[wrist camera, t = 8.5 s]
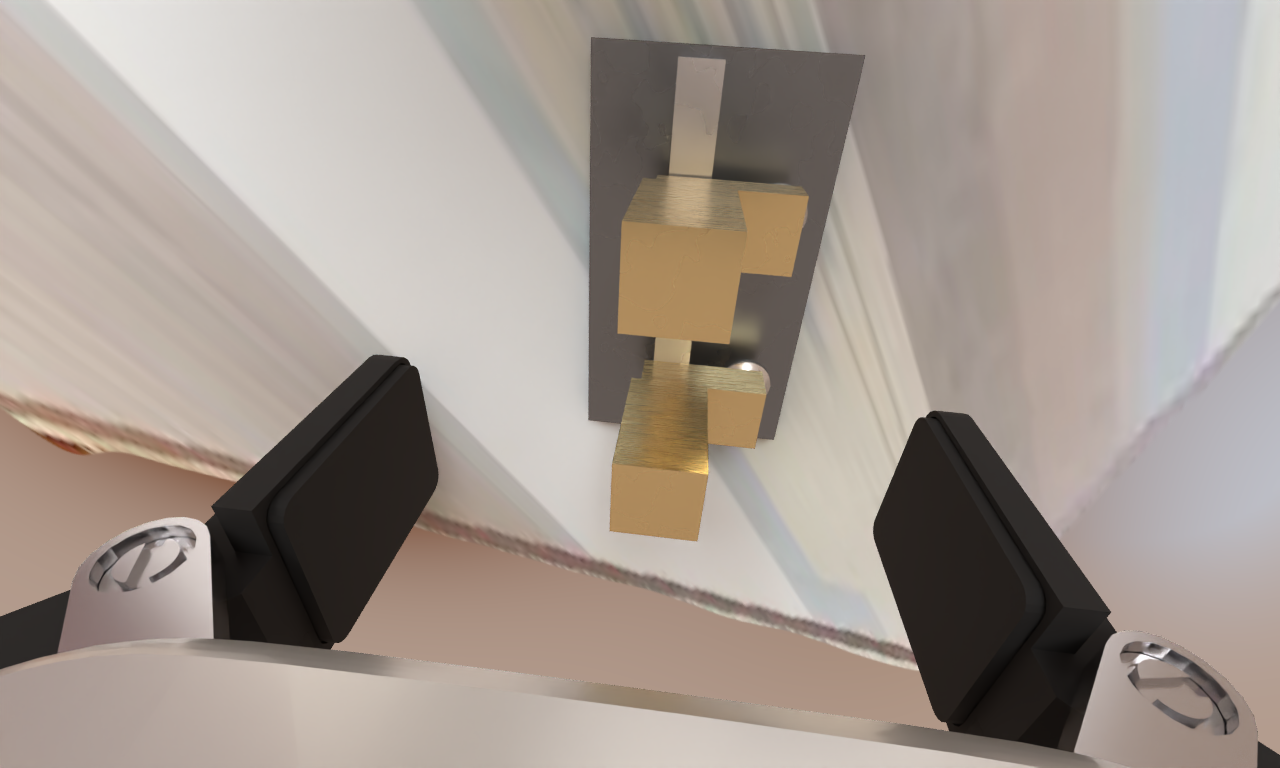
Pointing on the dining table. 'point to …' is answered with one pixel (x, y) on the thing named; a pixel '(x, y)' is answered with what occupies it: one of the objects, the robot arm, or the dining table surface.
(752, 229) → the block
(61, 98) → the dining table surface
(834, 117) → the hole plate
